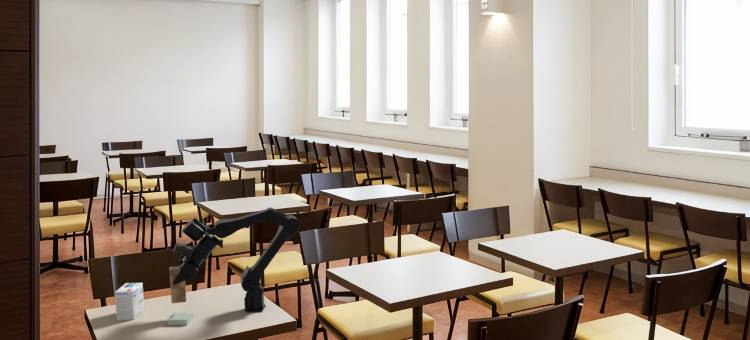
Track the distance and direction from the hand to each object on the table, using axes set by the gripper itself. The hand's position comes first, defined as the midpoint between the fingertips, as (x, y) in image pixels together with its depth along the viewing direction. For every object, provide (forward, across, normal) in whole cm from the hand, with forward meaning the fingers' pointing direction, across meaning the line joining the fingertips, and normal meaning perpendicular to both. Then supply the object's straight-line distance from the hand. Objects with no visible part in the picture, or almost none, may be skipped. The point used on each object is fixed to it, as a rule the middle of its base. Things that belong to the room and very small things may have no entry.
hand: (173, 281), depth 247 cm
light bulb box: (+21, -9, -2) cm, 23 cm away
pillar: (+4, 0, +6) cm, 7 cm away
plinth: (+8, +5, +11) cm, 14 cm away
